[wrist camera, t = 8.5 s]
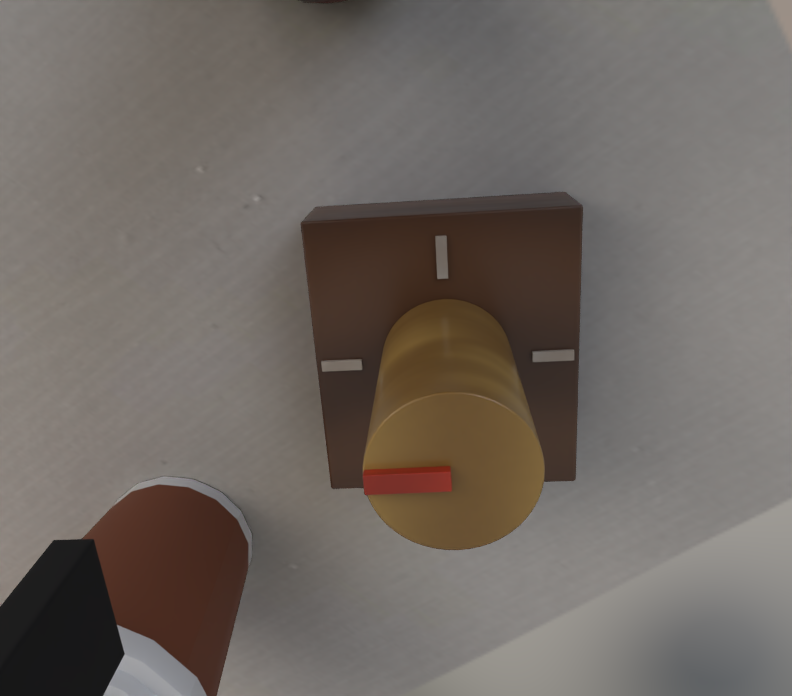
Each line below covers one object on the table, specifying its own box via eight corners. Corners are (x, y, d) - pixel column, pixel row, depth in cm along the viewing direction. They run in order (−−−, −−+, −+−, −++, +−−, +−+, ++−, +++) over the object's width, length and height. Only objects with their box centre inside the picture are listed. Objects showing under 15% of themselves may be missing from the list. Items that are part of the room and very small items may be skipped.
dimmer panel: (314, 206, 25) (299, 222, 22) (565, 191, 25) (584, 205, 22) (340, 450, 29) (330, 492, 26) (561, 441, 28) (576, 483, 25)
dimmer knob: (509, 294, 23) (547, 392, 16) (512, 414, 24) (547, 555, 17) (377, 302, 23) (352, 402, 16) (387, 420, 25) (370, 561, 17)
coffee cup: (263, 440, 29) (156, 668, 17) (298, 616, 32) (227, 905, 21) (53, 456, 29) (-180, 685, 18) (108, 627, 33) (-61, 911, 21)
